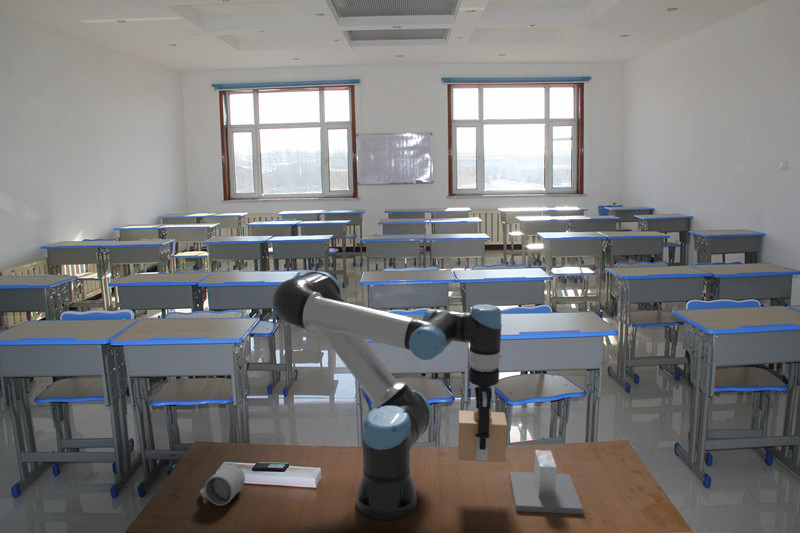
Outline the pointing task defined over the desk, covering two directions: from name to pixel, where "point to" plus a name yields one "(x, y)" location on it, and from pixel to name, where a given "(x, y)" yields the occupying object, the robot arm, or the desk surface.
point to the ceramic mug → (224, 485)
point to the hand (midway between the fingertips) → (480, 451)
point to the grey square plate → (544, 488)
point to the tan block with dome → (469, 441)
